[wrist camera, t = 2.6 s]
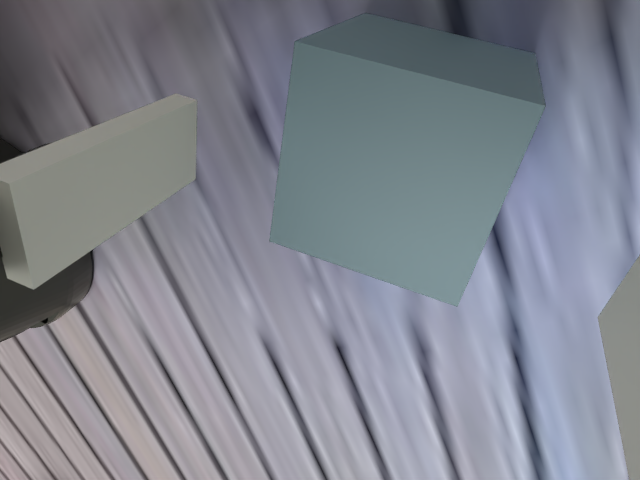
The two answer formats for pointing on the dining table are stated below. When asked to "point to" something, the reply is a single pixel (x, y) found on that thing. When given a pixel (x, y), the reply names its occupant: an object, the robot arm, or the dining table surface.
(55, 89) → the dining table surface
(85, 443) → the dining table surface
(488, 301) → the dining table surface
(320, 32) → the slate block
